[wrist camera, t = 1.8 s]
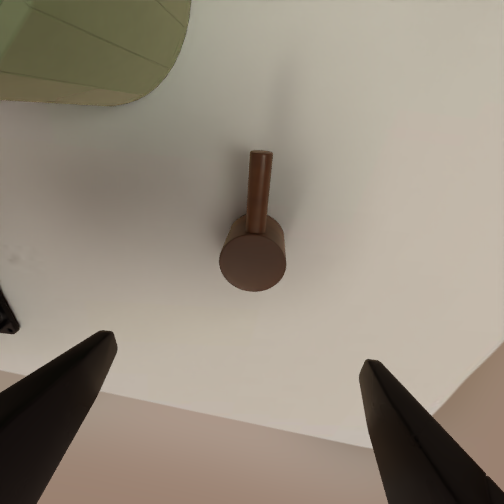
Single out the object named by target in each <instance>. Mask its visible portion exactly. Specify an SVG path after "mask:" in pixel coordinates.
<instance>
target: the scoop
mask: <svg viewBox="0 0 504 504" xmlns="http://www.w3.org/2000/svg"><path fill="white" fill-rule="evenodd" d="M272 159H273V153H272V152H269V151H262V150H253V151H250V159H249V177H248V194H247V212H246V215H243V216H241V217H240V218H238V219H237V220H236V221H235V222H234V223H233V224H232V226H231V228H230V230H229V233H228V236H227V238H226V241H225V243H224V246H223V248H222V251H221V253H220V257H219V265H220V269H221V272H222V274H223V276H224V277H225V278H226V280H227V281H228V282H229V283H231V284H232V285H233V286H235V287H237V288H239V289H242V290H245V291H252V292H257V291H263V290H267V289H269V288H271V287H273V286H274V285H276V284H277V283H278V282H279V281H280V280H281V278H282V277H283V275H284V273H285V270H286V254H285V242H284V233H283V230H282V228H281V226H280V225H279V223H278V222H277V221H276V220H274V219H273V218H272V217H270V216H268V215H267V210H268V200H269V189H270V179H271V169H272Z"/></svg>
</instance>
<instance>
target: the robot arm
mask: <svg viewBox="0 0 504 504" xmlns="http://www.w3.org/2000/svg"><path fill="white" fill-rule="evenodd" d="M17 331H19V326H18V325H17V323H16V321H15V319H14V317H13V315H12V313H11V311H10V310H9V308H8V306H7V304H6V302H5V300H4V298H3V296H2V295H1V293H0V333H7V334H15V333H16V332H17ZM116 353H117V343H116V340H115V336H114V333H113V332H112V331H105V330H101V331H98V332H97V333H95V334H93V335H92V336H90V337H89V338H87V339H85V340H84V341H82V342H81V343H79V344H77V345H76V346H74V347H73V348H71V349H69V350H68V351H66V352H65V353H63V354H61V355H60V356H58V357H57V358H55V359H53V360H52V361H50V362H49V363H47V364H45V365H44V366H42V367H41V368H39V369H37V370H36V371H34V372H33V373H31V374H30V375H28V376H26V377H25V378H23V379H22V380H20V381H18V382H17V383H15V384H14V385H12V386H10V387H9V388H7V389H6V390H4V391H2V392H1V393H0V504H37V502H38V500H39V499H40V497H41V495H42V493H43V491H44V490H45V488H46V486H47V484H48V483H49V481H50V479H51V477H52V476H53V474H54V472H55V470H56V468H57V467H58V465H59V463H60V461H61V460H62V458H63V456H64V454H65V453H66V450H67V449H68V447H69V445H70V444H71V442H72V440H73V438H74V437H75V435H76V433H77V431H78V429H79V428H80V426H81V424H82V422H83V421H84V419H85V417H86V415H87V413H88V412H89V410H90V408H91V406H92V405H93V403H94V401H95V399H96V397H97V395H98V393H99V391H100V389H101V387H102V385H103V382H104V380H105V378H106V376H107V373H108V371H109V369H110V367H111V364H112V362H113V360H114V358H115V355H116ZM359 382H360V388H361V393H362V399H363V405H364V411H365V416H366V422H367V427H368V431H369V435H370V439H371V443H372V446H373V450H374V453H375V457H376V461H377V464H378V468H379V471H380V475H381V479H382V482H383V486H384V490H385V492H386V497H387V500H388V504H504V492H503V491H502V490H501V489H500V488H499V487H498V486H497V485H496V483H495V482H494V481H493V480H492V479H491V478H490V477H489V476H486V473H485V472H484V471H483V470H482V469H481V468H480V467H479V466H478V465H477V464H476V462H475V461H473V459H472V458H471V457H470V456H469V455H468V454H467V453H466V452H465V451H464V450H463V449H462V448H461V447H460V446H459V444H458V443H457V442H456V441H455V440H454V439H453V438H452V437H451V436H450V435H449V434H448V433H447V432H446V431H445V430H444V429H443V428H442V426H441V425H440V424H439V423H438V422H437V421H436V420H435V419H434V418H433V417H432V416H431V415H430V414H429V413H428V412H427V411H426V410H425V408H424V407H423V406H422V405H421V404H420V403H419V402H418V401H417V400H416V399H415V398H414V397H413V396H412V395H411V394H410V393H409V392H408V390H407V389H406V388H405V387H404V386H403V385H402V384H401V383H400V382H399V381H398V380H397V379H396V378H395V377H394V376H393V375H392V374H391V373H390V371H389V370H388V369H387V368H386V367H385V366H384V365H383V364H382V363H381V362H380V361H378V360H371V359H367V360H365V362H364V365H363V367H362V369H361V372H360V374H359Z"/></svg>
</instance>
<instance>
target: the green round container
mask: <svg viewBox="0 0 504 504" xmlns="http://www.w3.org/2000/svg"><path fill="white" fill-rule="evenodd" d="M190 4H191V0H0V100H6V101H24V102H42V103H60V104H78V105H96V106H116V105H122V104H127V103H130V102H133V101H136V100H138V99H140V98H142V97H143V96H145V95H147V94H149V93H150V92H151V91H152V90H153V89H155V88H156V87H157V86H158V85H159V84H160V83H161V82H162V81H163V79H164V78H165V77H166V76H167V74H168V73H169V71H170V70H171V68H172V67H173V65H174V63H175V61H176V59H177V57H178V55H179V53H180V50H181V47H182V44H183V41H184V38H185V35H186V30H187V26H188V21H189V14H190Z"/></svg>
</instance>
